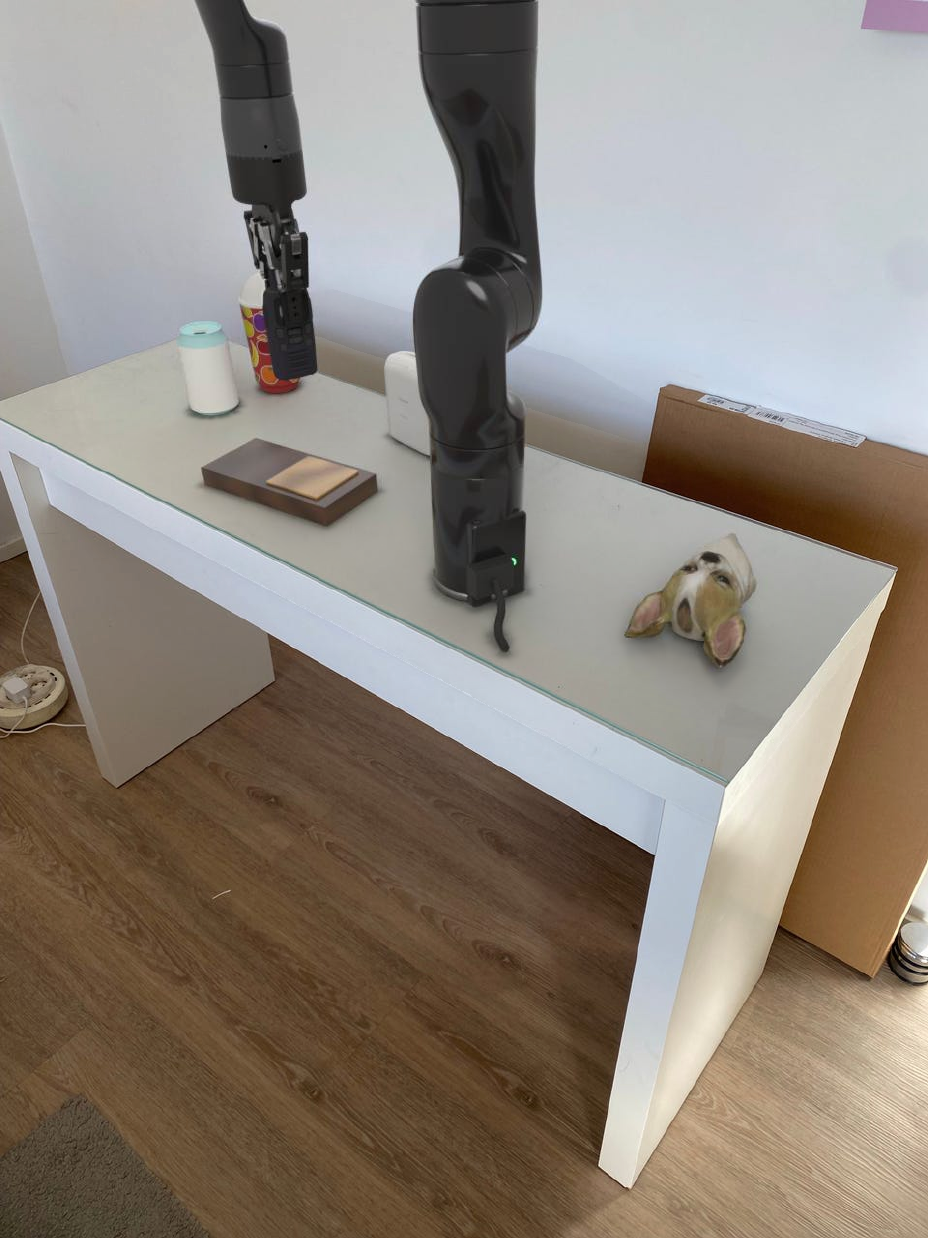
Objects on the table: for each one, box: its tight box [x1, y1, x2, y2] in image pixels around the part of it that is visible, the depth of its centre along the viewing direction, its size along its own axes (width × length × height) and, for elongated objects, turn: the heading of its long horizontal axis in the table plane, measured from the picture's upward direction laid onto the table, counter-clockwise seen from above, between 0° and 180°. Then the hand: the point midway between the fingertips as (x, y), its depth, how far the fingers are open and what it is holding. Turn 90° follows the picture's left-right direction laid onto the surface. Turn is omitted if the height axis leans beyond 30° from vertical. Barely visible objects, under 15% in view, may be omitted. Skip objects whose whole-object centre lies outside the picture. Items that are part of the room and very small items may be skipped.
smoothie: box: [237, 271, 301, 394], centre depth 135 cm, size 8×8×20 cm
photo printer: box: [383, 350, 430, 457], centre depth 121 cm, size 10×4×12 cm, turn 39°
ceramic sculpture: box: [624, 532, 757, 670], centre depth 87 cm, size 11×9×15 cm
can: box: [176, 320, 240, 416], centre depth 131 cm, size 7×7×12 cm
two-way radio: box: [262, 260, 318, 381], centre depth 99 cm, size 6×4×15 cm
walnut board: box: [200, 437, 379, 527], centre depth 114 cm, size 20×10×3 cm, turn 58°
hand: (286, 318), depth 100 cm, fingers closed on two-way radio, 4 cm apart
